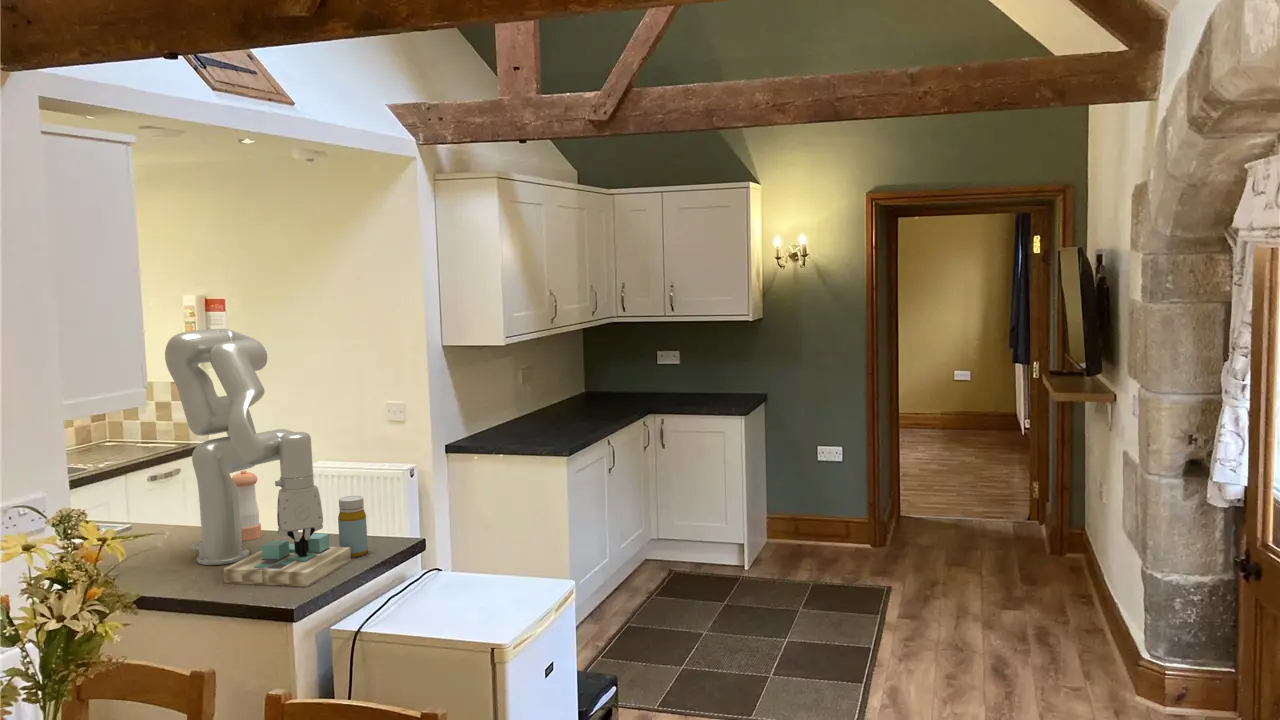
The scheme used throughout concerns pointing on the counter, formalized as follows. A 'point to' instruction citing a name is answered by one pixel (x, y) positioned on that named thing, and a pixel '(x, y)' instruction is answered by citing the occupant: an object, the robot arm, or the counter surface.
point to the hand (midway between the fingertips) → (302, 555)
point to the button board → (286, 568)
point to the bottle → (353, 525)
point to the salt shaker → (248, 505)
